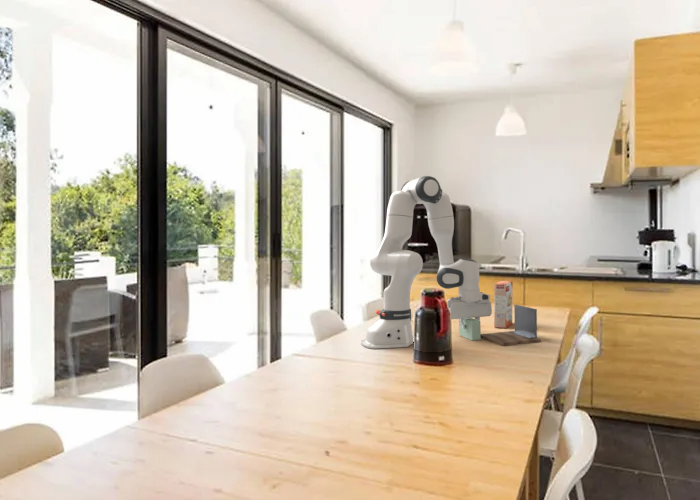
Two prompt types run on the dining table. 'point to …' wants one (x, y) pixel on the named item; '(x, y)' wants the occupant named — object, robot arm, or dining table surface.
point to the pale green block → (471, 329)
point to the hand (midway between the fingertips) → (469, 327)
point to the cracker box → (503, 304)
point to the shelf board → (508, 338)
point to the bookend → (525, 322)
